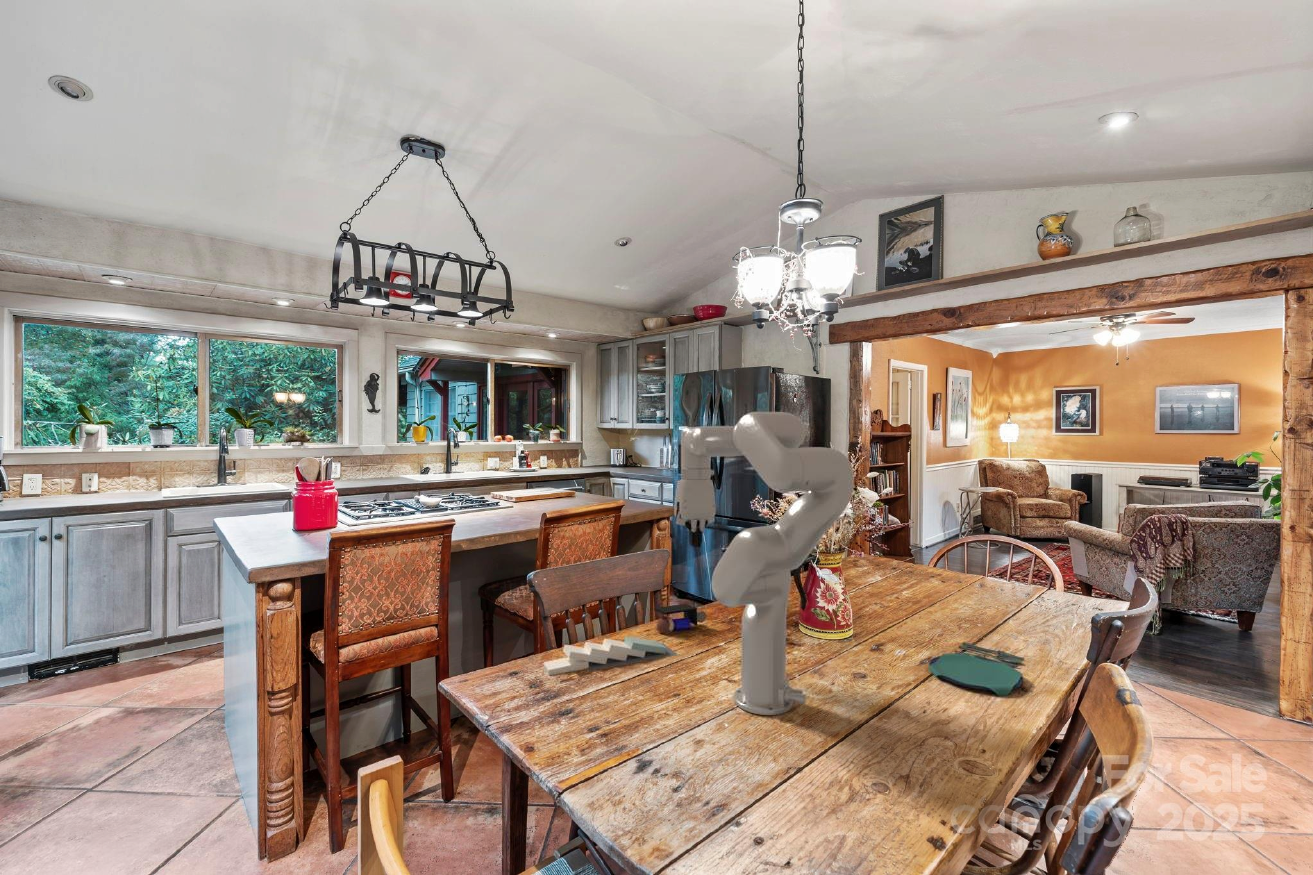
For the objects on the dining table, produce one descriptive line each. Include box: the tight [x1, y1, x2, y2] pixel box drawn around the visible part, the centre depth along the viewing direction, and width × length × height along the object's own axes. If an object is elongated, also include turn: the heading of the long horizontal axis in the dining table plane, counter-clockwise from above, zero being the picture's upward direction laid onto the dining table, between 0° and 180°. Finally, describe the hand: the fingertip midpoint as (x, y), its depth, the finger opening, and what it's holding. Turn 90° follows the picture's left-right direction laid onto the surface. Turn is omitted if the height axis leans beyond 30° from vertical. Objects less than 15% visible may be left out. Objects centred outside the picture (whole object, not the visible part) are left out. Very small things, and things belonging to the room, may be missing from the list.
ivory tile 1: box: [602, 637, 646, 658], centre depth 150 cm, size 2×5×10 cm
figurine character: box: [653, 603, 707, 635], centre depth 171 cm, size 7×8×15 cm
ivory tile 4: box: [542, 656, 589, 676], centre depth 143 cm, size 2×5×10 cm
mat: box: [587, 642, 678, 672], centre depth 150 cm, size 24×9×1 cm, turn 115°
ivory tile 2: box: [583, 641, 627, 661], centre depth 148 cm, size 2×5×10 cm
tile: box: [623, 635, 667, 654], centre depth 152 cm, size 2×5×10 cm
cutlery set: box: [928, 641, 1025, 697], centre depth 143 cm, size 20×30×2 cm, turn 137°
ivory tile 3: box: [562, 644, 607, 664], centre depth 145 cm, size 2×5×10 cm
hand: (695, 546), depth 149 cm, fingers closed
